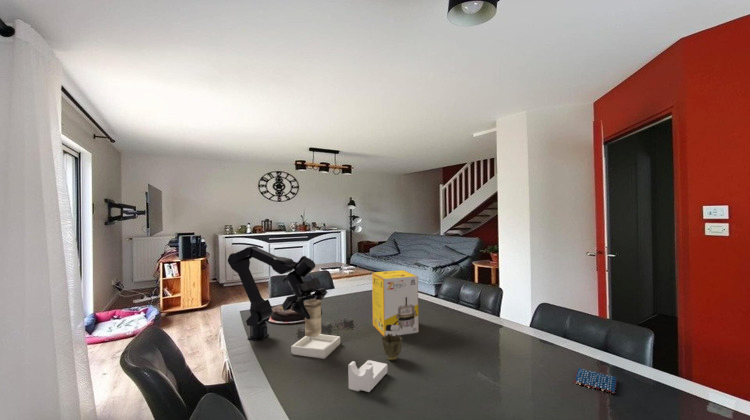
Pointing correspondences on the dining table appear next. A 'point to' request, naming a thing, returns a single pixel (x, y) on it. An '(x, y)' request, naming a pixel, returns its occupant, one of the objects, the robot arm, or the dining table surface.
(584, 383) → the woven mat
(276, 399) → the dining table surface
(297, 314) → the chocolate cake
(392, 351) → the cup
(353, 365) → the bracket
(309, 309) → the birch block
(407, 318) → the packaging box
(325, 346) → the tray
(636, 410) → the dining table surface
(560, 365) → the dining table surface
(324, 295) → the robot arm
